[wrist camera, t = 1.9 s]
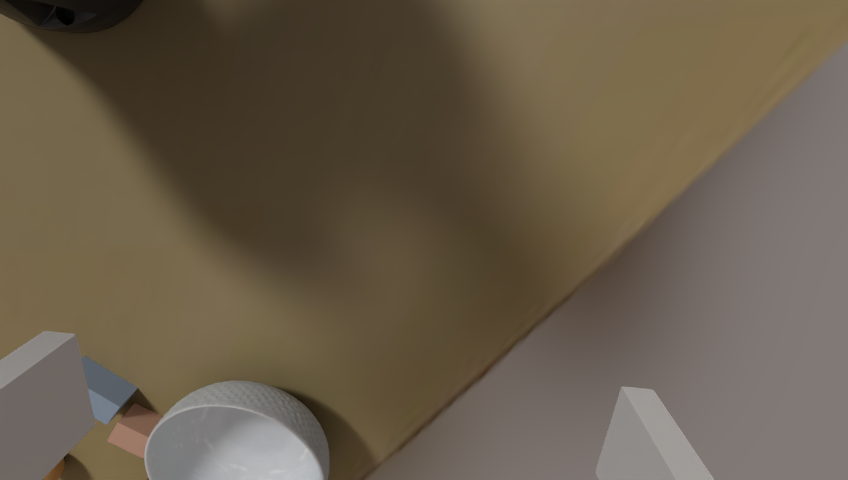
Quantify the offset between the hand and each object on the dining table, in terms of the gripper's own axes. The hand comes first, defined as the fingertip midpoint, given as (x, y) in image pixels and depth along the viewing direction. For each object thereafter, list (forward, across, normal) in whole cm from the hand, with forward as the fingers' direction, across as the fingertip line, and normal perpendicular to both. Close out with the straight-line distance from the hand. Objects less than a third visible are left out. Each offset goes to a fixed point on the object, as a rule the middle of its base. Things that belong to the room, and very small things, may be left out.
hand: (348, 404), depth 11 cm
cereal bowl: (+29, -14, -29) cm, 43 cm away
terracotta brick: (+29, -25, -31) cm, 49 cm away
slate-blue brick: (+29, -30, -25) cm, 49 cm away
